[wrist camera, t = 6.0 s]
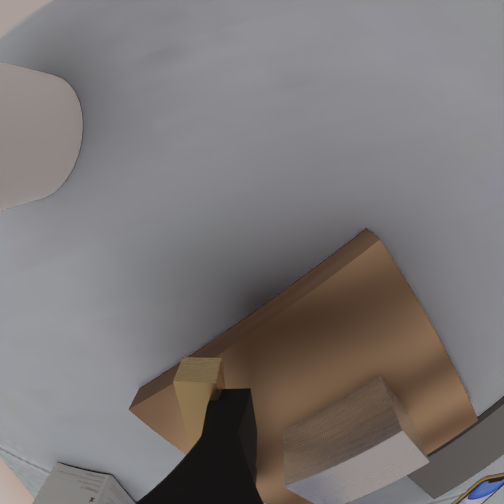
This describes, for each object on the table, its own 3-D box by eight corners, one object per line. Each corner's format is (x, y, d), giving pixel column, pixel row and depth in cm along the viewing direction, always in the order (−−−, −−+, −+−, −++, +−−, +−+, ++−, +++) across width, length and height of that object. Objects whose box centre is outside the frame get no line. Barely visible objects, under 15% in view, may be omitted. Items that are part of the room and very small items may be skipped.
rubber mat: (514, 440, 19) (516, 444, 19) (432, 494, 21) (434, 499, 21) (504, 396, 17) (507, 400, 17) (401, 466, 20) (403, 471, 19)
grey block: (408, 411, 15) (429, 462, 11) (321, 458, 16) (327, 510, 13) (379, 374, 14) (402, 430, 11) (283, 429, 16) (284, 486, 12)
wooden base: (467, 402, 17) (501, 460, 12) (290, 496, 21) (291, 555, 15) (366, 228, 14) (421, 275, 9) (139, 388, 18) (103, 460, 12)
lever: (259, 532, 13) (258, 548, 12) (221, 530, 13) (219, 546, 12) (238, 358, 9) (233, 383, 8) (167, 356, 9) (156, 380, 8)
